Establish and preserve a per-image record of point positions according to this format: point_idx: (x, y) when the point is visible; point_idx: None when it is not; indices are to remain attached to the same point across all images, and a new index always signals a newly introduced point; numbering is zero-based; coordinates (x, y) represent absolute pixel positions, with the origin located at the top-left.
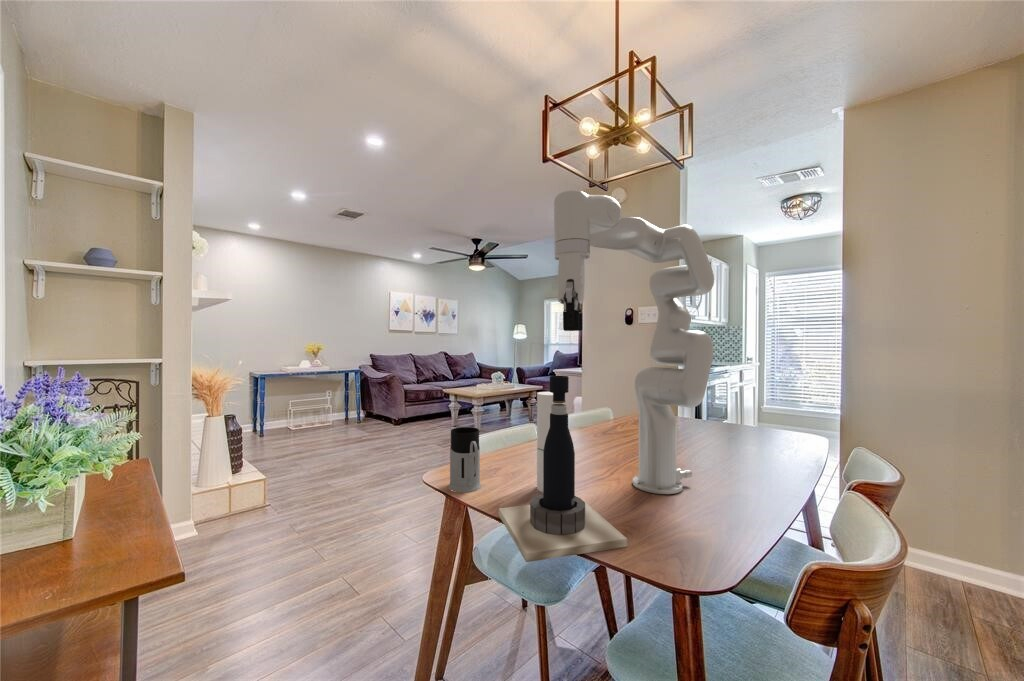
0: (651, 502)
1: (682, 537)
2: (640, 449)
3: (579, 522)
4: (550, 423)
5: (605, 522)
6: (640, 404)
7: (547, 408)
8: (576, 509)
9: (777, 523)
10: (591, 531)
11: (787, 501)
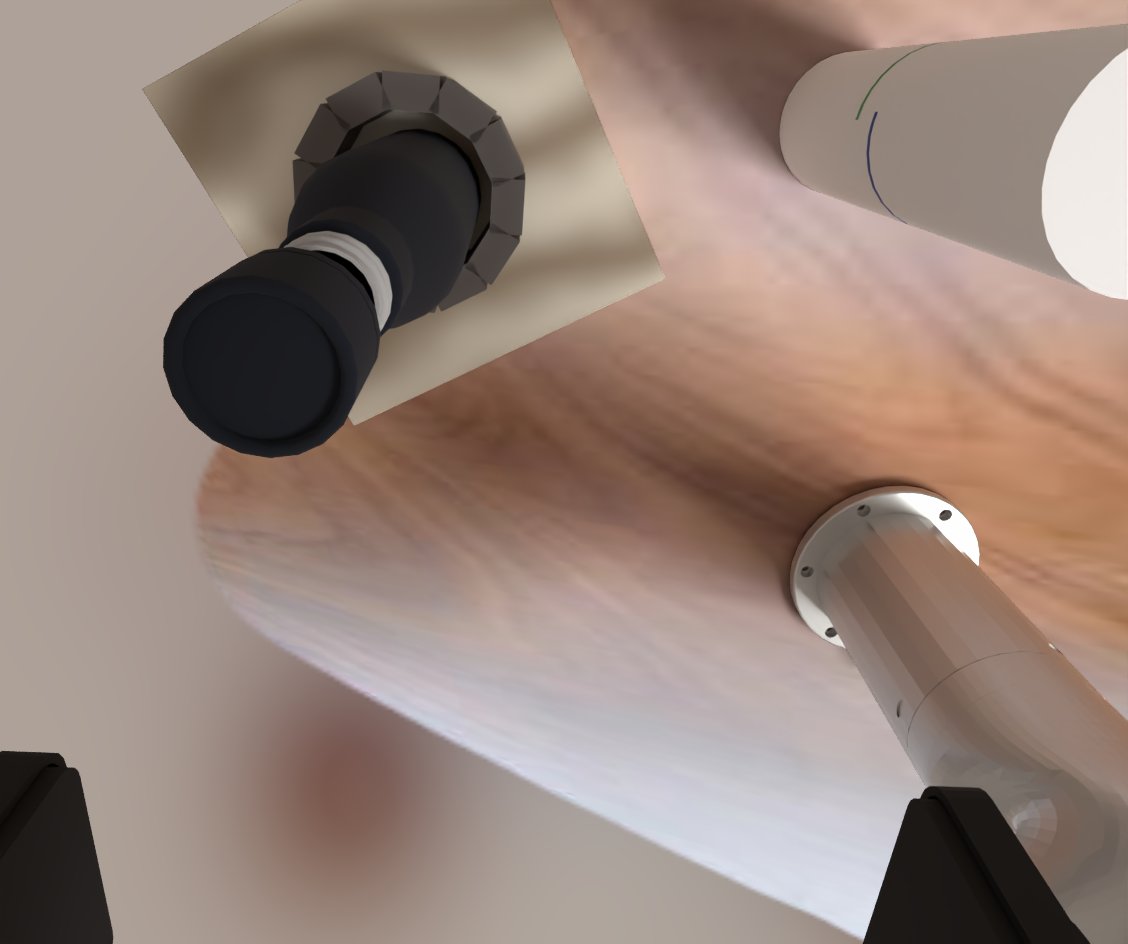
0: (717, 526)
1: (460, 571)
2: (939, 591)
3: None
4: (316, 216)
5: (458, 365)
6: (1056, 747)
7: (986, 136)
8: None
9: (600, 803)
10: None
11: (758, 868)
